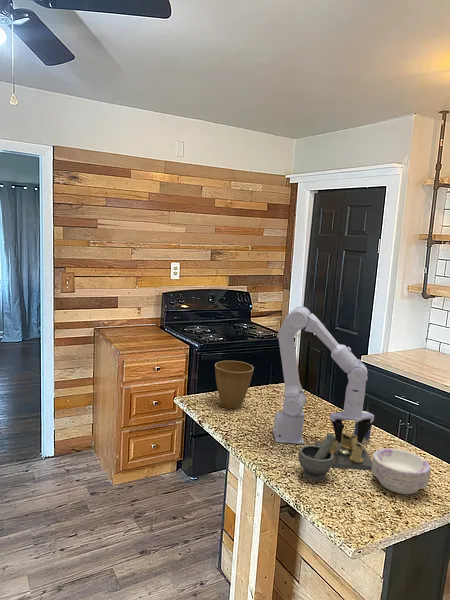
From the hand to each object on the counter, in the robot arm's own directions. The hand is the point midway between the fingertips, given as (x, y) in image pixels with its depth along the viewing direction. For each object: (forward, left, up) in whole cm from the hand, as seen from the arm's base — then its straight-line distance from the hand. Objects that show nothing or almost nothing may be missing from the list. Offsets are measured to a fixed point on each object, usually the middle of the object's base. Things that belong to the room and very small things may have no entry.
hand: (348, 441), depth 150 cm
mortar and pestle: (-14, -17, -3) cm, 23 cm away
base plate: (-3, -4, -3) cm, 6 cm away
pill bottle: (+7, +9, -3) cm, 12 cm away
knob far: (0, 0, -2) cm, 2 cm away
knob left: (-7, -4, -2) cm, 9 cm away
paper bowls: (+8, -20, -3) cm, 22 cm away
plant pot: (-37, +32, -3) cm, 49 cm away
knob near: (0, -9, -2) cm, 9 cm away
